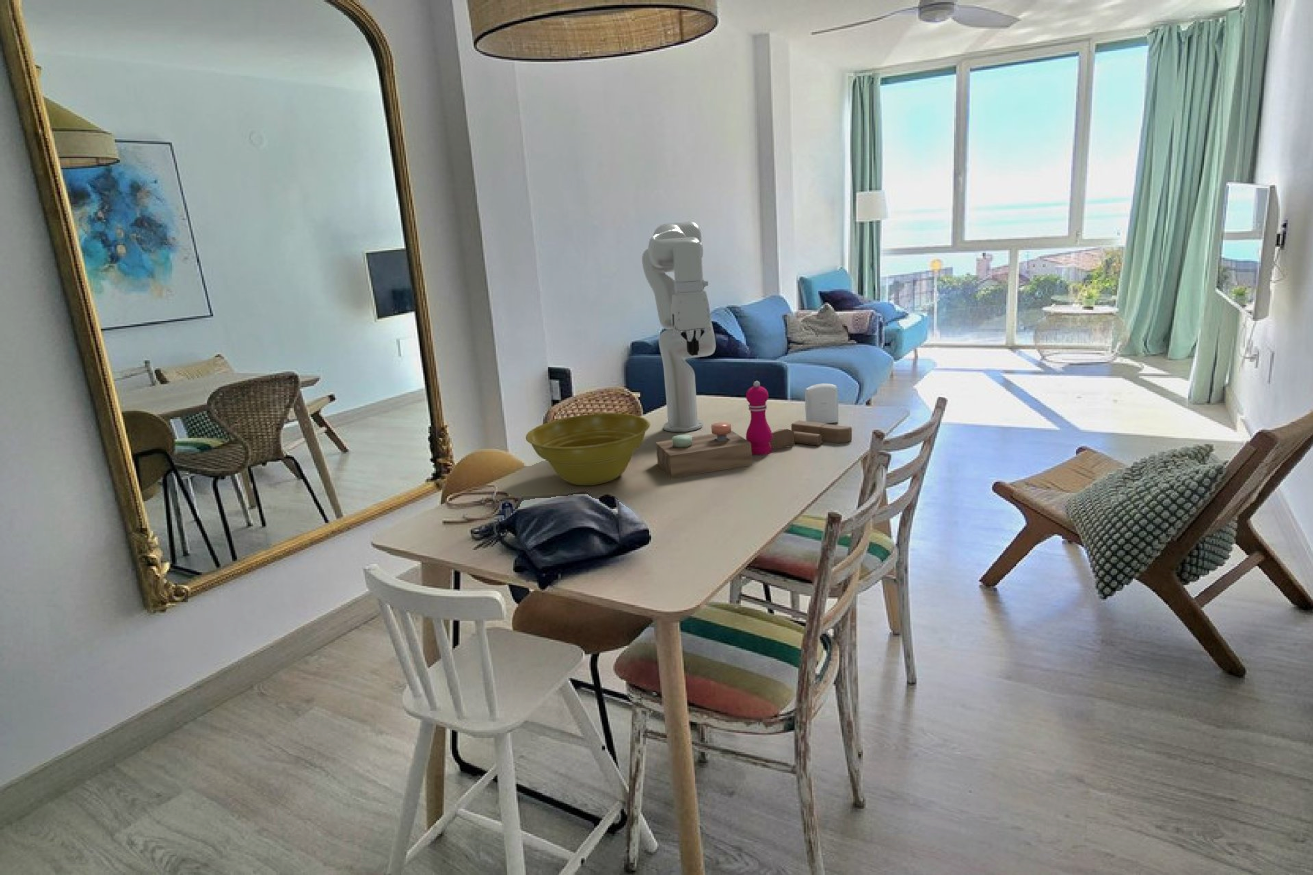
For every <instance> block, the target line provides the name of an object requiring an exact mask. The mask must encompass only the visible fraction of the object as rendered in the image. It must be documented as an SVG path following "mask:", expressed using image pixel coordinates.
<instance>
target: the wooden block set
mask: <svg viewBox="0 0 1313 875" xmlns="http://www.w3.org/2000/svg"><path fill="white" fill-rule="evenodd" d="M790 426H791V428H780V429H779V428H778V429H777V430H775V431H771V432H772V440H771V441H770V442H769V444H770V445H771V448H775V449H781V448H782V447H783V448H788V447H787V446H791V447H794V446H795V444H802V445H810V446H817V447H819V446H821V445H822V442H827V443H833V442H835V444H842V443H843V442H845V443H849V442H851V441H852V439H853V434H852V432H853V428H852V427H851V426H847V425H838V424H837V425H836V424H830V423H828V424H826V423H818V422H809V421H806V420H797V421H795V422H793V423H791V425H790ZM843 444H844V443H843Z"/></svg>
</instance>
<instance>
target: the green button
mask: <svg viewBox="0 0 1313 875" xmlns="http://www.w3.org/2000/svg"><path fill="white" fill-rule="evenodd" d="M692 437H693V436H692V435H691V434H677V435H674V436H672V438H671V440H673V446H674V447H678V448H684V447H688V446H691V445H692Z"/></svg>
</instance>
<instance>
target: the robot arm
mask: <svg viewBox="0 0 1313 875" xmlns="http://www.w3.org/2000/svg"><path fill="white" fill-rule="evenodd" d="M647 246H648V247H647V249H645V250H644V251H643V253H642V257H641V258H642V259H641V260H642V262H641V263H642V269H643V273H644V275H645V279H646V281H647V283H648V284H649V286H650V288H651V289H652V292H653V294H654V300H655V305H656V310H657V315H658V316H657V317H658V320H659V323H660V325H661V327H662V328H664V329H665V330H664V331H662V332H661V333H660V335H659V337H658V346H659V352H660V355H661V360H662V365H663V366H662V367H663V375H664V388H665V398H666V399H665V400H666V410H667V412H666V413H667V421H666V422H665V423H663V429H664V430H665V431H668V432H673V433H674V432H675V433H684V432H691V431H695V430H699V429H701V428H703V427H704V422H703V420H700V419H699V418H698V403H697V391H696V390H697V389H696V374H695V371H694V369H693V367H692V366H691V365H690V364H689V363H688V362H687V361H686V359H691V358H692V359H693V358H700V357H708V356H711V355H713V354H714V353H715V351H716V347H717V344H716V336H715V332H714V327H713V323H712V322H713V321H712V317H711V311H710V310H711V309H710V304H709V300H708V294H707V292H706V291H707V290H705V287H708V286H709V282H708V280H704V277H703V276H704V275H703V259H702V258H703V255H704V249H703V244H702V232H701V229H700V226H699V225H698V224H697V223H695V222H694V221H682V222H670V223H669V222H668V223H663V224H660V225H659V226H658V227H656V228H655V230H654V232H653V235H652V236H651V238H650V239H649V241H648V245H647ZM667 273H674V279H673V278H672V277H671V276H670V275H667Z"/></svg>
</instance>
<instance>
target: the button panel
mask: <svg viewBox="0 0 1313 875" xmlns="http://www.w3.org/2000/svg"><path fill="white" fill-rule="evenodd" d="M655 447H656V449H655V450H656V460H657V464H658V465H659V467H661V468H662V469H663V471H664V472H666V474H668V476H669V477H670V478H671V479H674V478H680V477H686V476H692V475H697V474H698V475H699V474H703V473H704V474H706V473H710V472H717V471H724V470H729V469H736V468H741V467H748V466H752V465H753V459H752V458H753V457H752V455H753V454H752V453H751V443H750V442H749V441H747V440H746V438H744V437H742V436H741V435H740V434H737V433H736V432H735V431H733V430H731V433H729V434H727V441H723V442H717V435H715V434H712V433H710V434H709V433H708V434H702V435H695V436H692V445H691V446H688V447H684V448H678V447H674V446H673V440H672V439H669V440H662V441H656V442H655Z"/></svg>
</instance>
